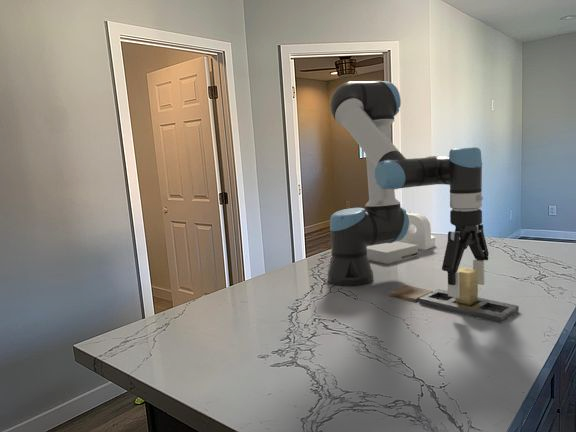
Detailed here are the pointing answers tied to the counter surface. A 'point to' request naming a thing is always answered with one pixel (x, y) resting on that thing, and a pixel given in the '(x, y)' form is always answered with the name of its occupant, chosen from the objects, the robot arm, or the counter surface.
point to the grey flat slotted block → (473, 311)
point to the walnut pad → (409, 293)
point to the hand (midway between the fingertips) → (466, 290)
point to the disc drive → (391, 252)
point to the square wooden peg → (468, 287)
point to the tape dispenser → (419, 232)
